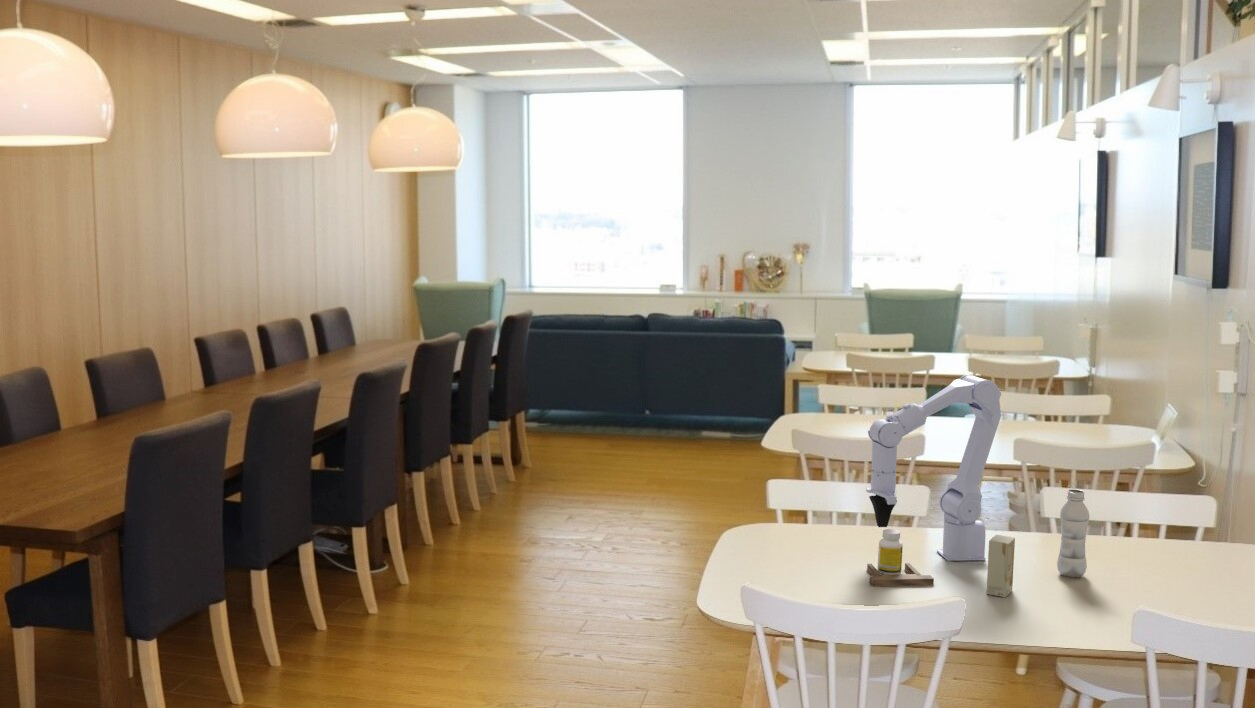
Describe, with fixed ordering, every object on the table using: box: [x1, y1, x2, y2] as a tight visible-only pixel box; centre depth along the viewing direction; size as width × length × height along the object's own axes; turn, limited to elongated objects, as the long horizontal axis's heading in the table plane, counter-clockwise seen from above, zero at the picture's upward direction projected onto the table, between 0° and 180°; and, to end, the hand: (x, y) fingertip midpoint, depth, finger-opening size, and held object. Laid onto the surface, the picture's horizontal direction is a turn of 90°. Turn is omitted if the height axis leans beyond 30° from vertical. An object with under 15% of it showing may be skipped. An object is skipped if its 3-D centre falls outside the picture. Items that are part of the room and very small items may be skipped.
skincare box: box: [985, 534, 1016, 598], centre depth 257 cm, size 6×4×12 cm
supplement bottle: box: [877, 528, 904, 575], centre depth 271 cm, size 5×5×10 cm
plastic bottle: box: [1056, 489, 1090, 578], centre depth 268 cm, size 6×7×20 cm
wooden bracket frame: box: [866, 562, 935, 587], centre depth 268 cm, size 14×11×2 cm
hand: (882, 526), depth 278 cm, fingers closed
